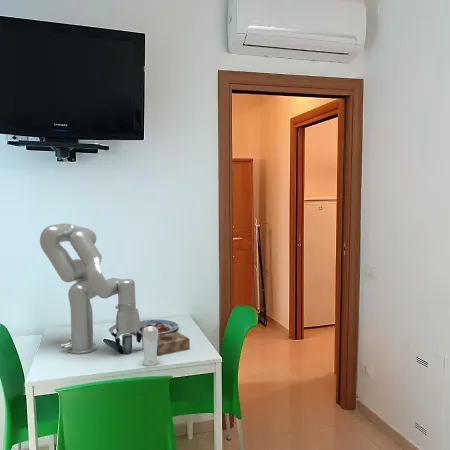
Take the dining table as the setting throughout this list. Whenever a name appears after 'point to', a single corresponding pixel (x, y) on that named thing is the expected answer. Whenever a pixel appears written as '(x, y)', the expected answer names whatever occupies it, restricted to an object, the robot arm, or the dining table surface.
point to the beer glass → (150, 345)
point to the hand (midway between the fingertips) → (128, 344)
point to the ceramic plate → (161, 325)
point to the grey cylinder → (127, 343)
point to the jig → (172, 343)
